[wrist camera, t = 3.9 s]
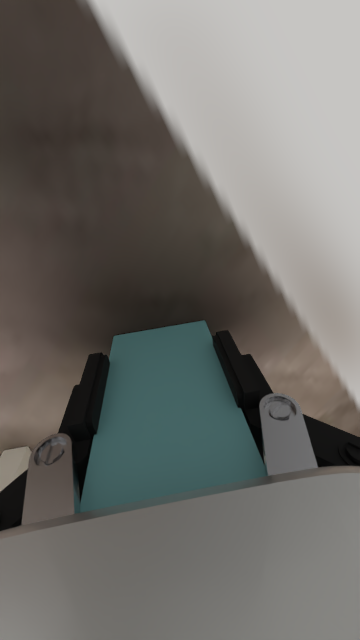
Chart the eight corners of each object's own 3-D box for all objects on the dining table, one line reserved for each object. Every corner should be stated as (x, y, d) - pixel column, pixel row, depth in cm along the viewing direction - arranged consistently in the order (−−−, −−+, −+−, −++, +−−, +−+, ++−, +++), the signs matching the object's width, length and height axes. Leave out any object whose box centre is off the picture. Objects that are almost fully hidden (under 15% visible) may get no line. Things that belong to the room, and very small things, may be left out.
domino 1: (3, 450, 17) (-114, 676, 9) (27, 446, 17) (-70, 667, 10) (34, 490, 20) (-39, 696, 12) (55, 486, 20) (-4, 688, 12)
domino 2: (120, 359, 15) (92, 565, 7) (113, 335, 14) (73, 540, 6) (207, 344, 15) (274, 528, 7) (204, 320, 14) (277, 498, 6)
